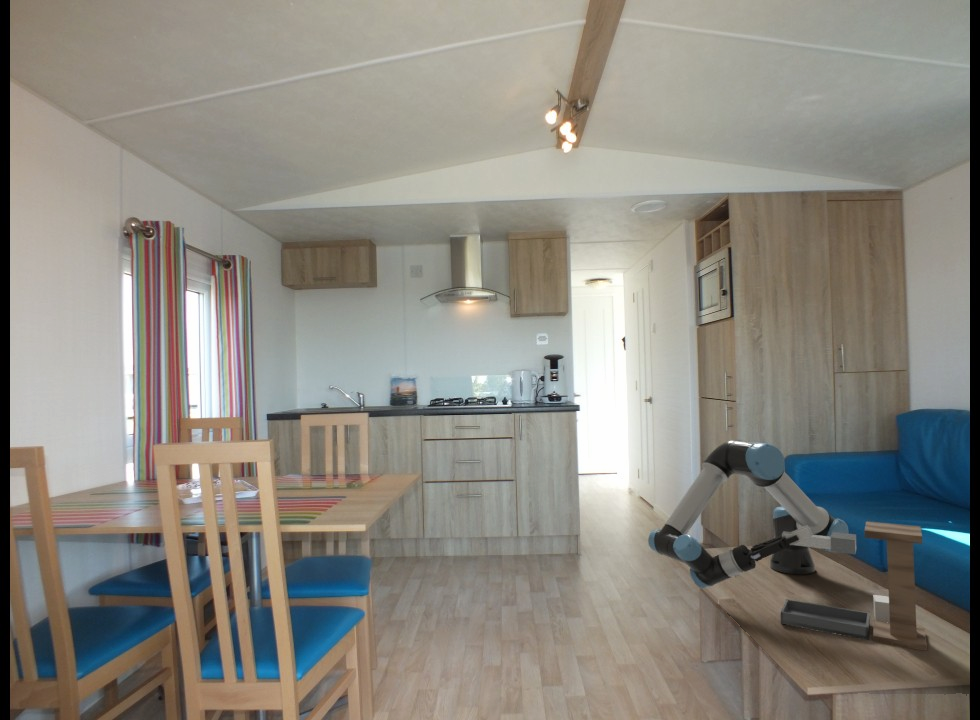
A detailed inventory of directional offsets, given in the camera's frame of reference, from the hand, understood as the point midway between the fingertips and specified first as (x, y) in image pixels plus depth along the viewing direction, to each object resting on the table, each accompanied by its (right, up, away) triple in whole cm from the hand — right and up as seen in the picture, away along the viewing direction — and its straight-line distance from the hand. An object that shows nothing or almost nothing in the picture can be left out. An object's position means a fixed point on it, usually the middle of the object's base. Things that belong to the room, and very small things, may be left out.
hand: (809, 531), depth 182 cm
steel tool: (+2, -4, -1) cm, 5 cm away
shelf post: (+18, -26, -12) cm, 34 cm away
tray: (+3, -27, -2) cm, 27 cm away
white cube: (+23, -27, 0) cm, 35 cm away
